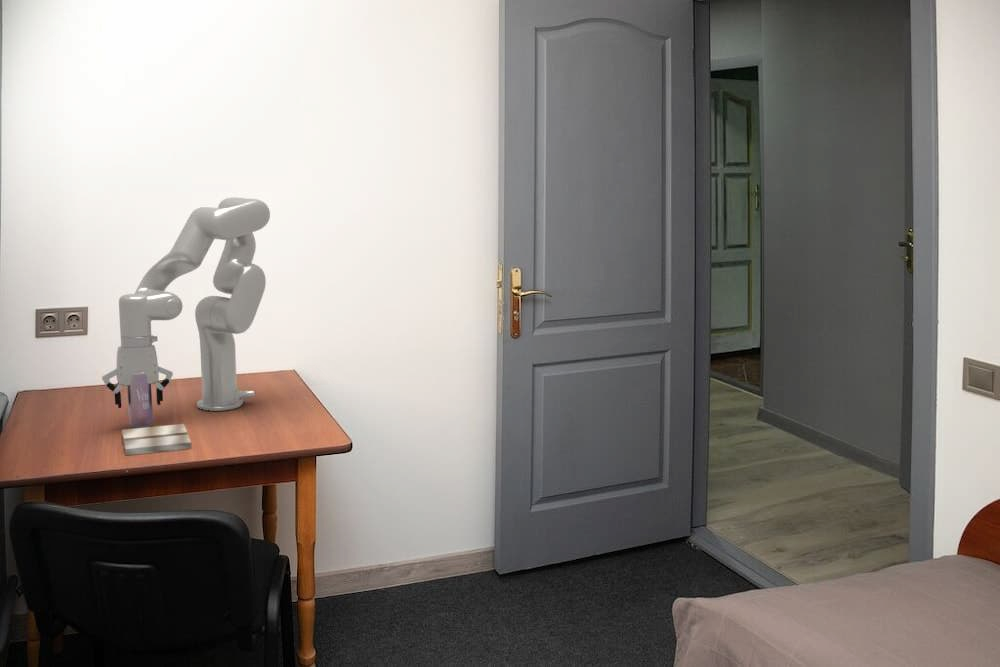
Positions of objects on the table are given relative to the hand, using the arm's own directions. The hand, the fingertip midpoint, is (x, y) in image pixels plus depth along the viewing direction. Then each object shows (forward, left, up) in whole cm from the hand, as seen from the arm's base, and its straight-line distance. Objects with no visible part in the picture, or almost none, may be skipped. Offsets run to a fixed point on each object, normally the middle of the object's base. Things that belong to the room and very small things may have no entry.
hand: (139, 405), depth 247 cm
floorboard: (-3, +21, -6) cm, 22 cm away
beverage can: (0, 0, -6) cm, 6 cm away
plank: (-3, +11, -6) cm, 13 cm away
